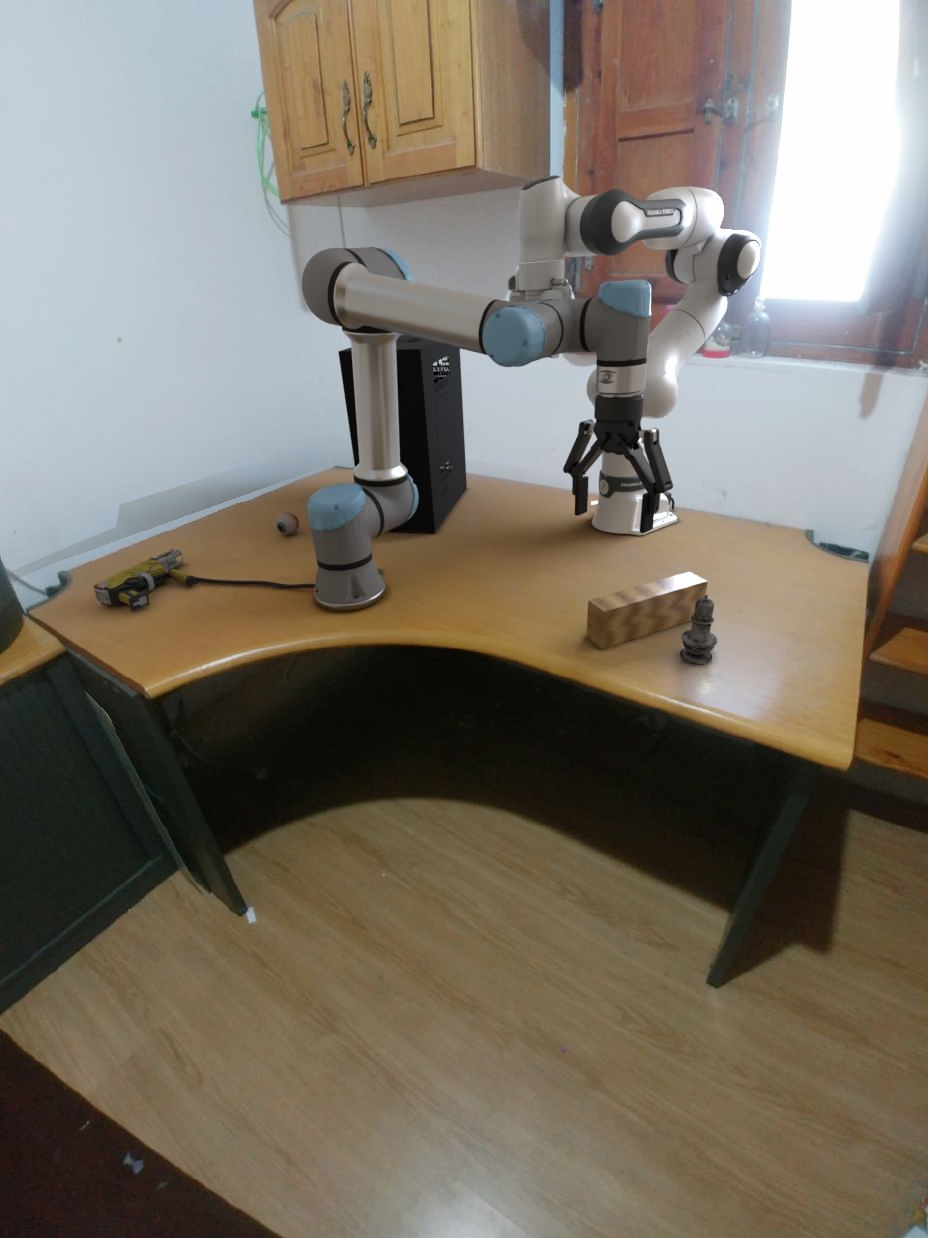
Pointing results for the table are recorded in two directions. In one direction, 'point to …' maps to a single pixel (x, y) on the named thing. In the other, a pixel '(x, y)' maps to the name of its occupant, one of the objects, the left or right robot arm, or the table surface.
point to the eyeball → (287, 523)
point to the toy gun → (141, 581)
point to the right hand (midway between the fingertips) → (541, 355)
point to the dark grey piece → (699, 634)
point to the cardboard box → (423, 426)
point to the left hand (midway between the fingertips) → (612, 521)
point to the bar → (643, 609)
